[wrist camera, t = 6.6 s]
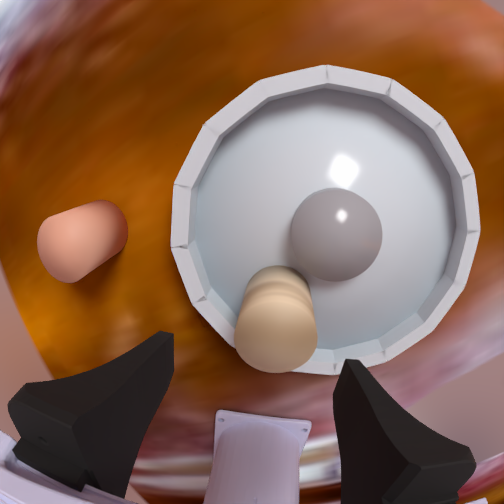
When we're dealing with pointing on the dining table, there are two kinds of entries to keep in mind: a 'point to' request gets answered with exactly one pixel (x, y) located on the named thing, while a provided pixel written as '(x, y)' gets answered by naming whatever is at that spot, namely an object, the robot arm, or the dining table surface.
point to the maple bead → (276, 321)
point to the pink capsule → (81, 239)
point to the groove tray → (329, 210)
